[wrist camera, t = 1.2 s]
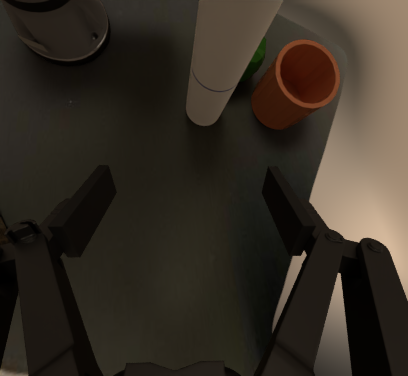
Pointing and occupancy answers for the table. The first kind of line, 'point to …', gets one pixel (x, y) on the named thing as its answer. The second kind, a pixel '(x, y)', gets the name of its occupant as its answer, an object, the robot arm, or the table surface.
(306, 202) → the robot arm
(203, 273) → the table surface
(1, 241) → the beverage carton
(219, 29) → the cylindrical container
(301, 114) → the crock
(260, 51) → the bell pepper
